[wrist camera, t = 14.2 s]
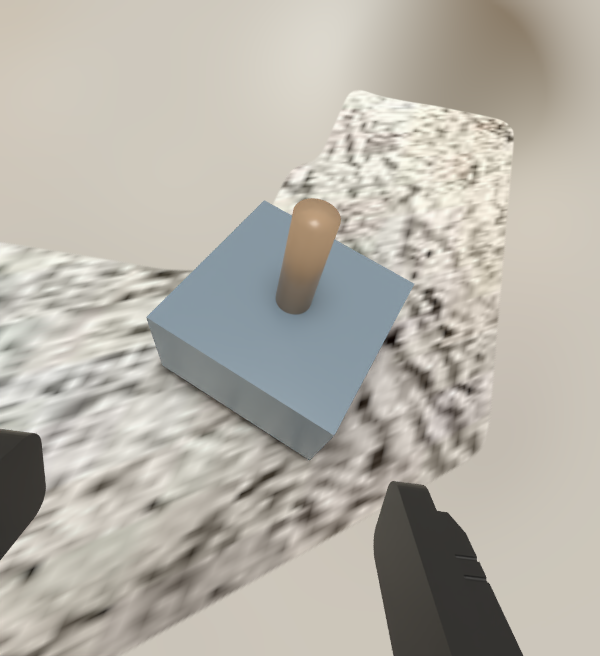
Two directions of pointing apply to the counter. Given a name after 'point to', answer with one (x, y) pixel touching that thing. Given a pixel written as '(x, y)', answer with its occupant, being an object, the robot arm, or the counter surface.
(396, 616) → the robot arm
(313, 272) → the cover
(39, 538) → the counter surface
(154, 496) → the counter surface
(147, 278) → the counter surface
